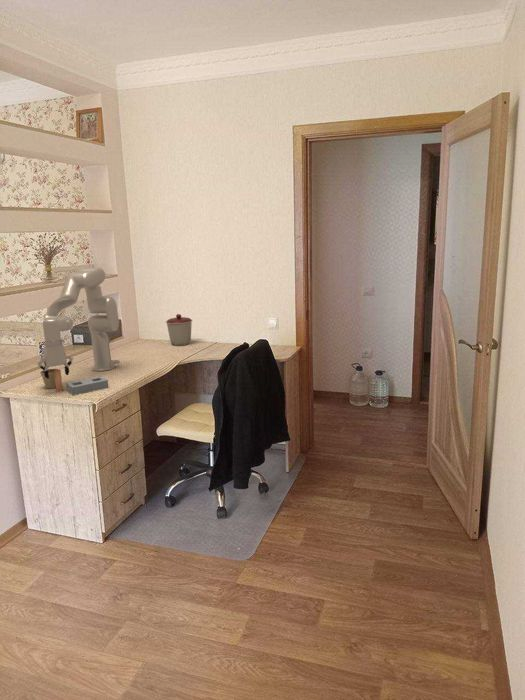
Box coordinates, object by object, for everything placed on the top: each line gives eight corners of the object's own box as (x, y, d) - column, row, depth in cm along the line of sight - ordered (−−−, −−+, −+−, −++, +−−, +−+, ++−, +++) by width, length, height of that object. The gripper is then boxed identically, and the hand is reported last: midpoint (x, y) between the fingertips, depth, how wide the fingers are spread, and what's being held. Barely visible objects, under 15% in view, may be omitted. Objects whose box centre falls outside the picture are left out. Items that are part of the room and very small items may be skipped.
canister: (199, 342, 369) (197, 312, 364) (182, 348, 354) (180, 317, 349) (179, 340, 378) (177, 311, 373) (162, 345, 364) (159, 315, 359)
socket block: (101, 383, 281) (100, 376, 280) (108, 387, 273) (107, 380, 272) (67, 390, 271) (66, 383, 270) (73, 395, 263) (72, 387, 262)
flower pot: (38, 388, 277) (36, 372, 275) (54, 383, 285) (51, 367, 283) (49, 390, 272) (47, 374, 270) (65, 385, 280) (62, 369, 278)
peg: (62, 389, 273) (59, 369, 270) (63, 391, 270) (61, 370, 268) (56, 391, 271) (53, 370, 268) (57, 392, 268) (55, 371, 266)
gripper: (68, 339, 272) (72, 372, 276) (33, 344, 262) (37, 378, 266) (73, 341, 267) (76, 374, 270) (37, 347, 257) (41, 381, 260)
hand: (57, 376), depth 268 cm, fingers open, 9 cm apart
